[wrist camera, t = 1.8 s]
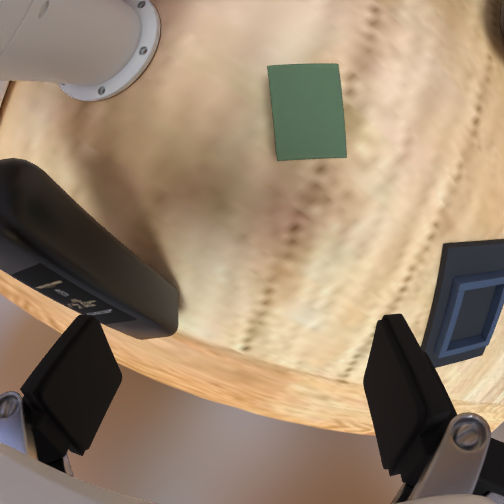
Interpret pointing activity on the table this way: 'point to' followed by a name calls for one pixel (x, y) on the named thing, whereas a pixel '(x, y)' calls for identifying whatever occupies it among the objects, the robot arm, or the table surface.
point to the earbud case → (3, 89)
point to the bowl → (502, 18)
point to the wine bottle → (77, 257)
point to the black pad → (465, 301)
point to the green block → (307, 111)
